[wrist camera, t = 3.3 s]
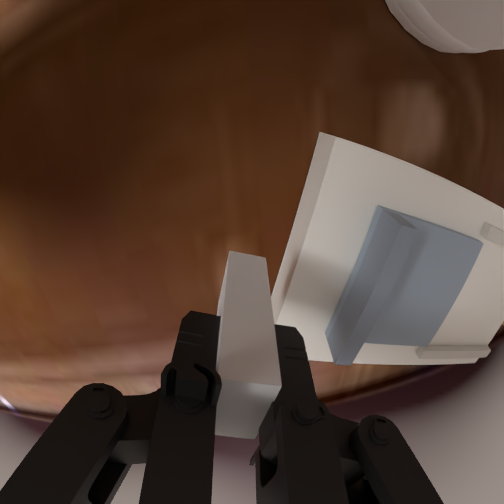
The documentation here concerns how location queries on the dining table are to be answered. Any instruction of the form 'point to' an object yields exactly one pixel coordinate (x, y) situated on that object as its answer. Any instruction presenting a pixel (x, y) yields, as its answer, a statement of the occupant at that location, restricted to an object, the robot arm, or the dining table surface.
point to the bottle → (453, 23)
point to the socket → (352, 238)
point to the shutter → (400, 284)
